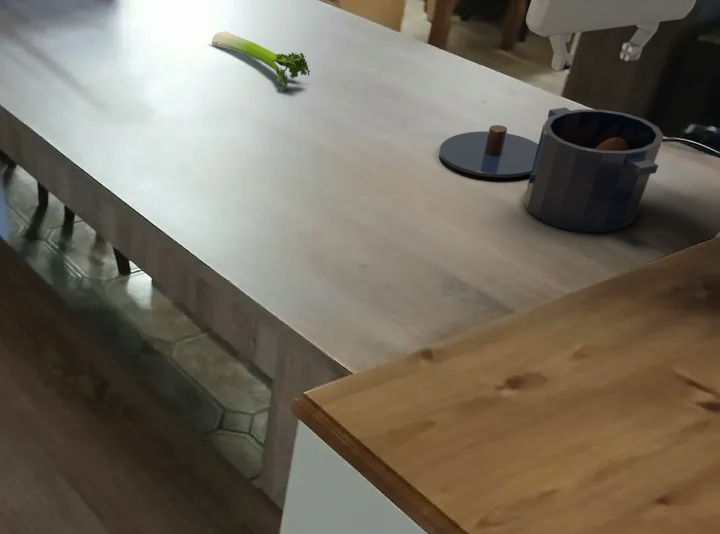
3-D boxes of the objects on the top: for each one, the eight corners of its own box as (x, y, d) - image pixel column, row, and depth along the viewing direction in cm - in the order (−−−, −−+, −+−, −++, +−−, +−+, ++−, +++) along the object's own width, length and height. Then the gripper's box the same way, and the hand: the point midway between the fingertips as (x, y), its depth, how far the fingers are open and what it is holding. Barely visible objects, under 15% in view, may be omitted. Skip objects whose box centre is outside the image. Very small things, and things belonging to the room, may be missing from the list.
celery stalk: (236, 50, 180) (320, 86, 157) (205, 61, 179) (284, 99, 156) (232, 17, 176) (317, 49, 153) (200, 28, 175) (280, 62, 152)
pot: (582, 170, 130) (605, 96, 124) (672, 232, 116) (703, 152, 110) (494, 184, 129) (512, 110, 122) (574, 249, 115) (599, 169, 108)
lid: (510, 132, 141) (517, 102, 138) (566, 172, 130) (575, 141, 127) (420, 146, 139) (425, 116, 136) (470, 188, 128) (477, 156, 125)
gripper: (564, -45, 100) (532, 83, 110) (728, -64, 103) (684, 62, 113) (532, -59, 105) (503, 65, 114) (690, -77, 108) (650, 46, 117)
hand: (594, 64), depth 113 cm, fingers open, 8 cm apart
